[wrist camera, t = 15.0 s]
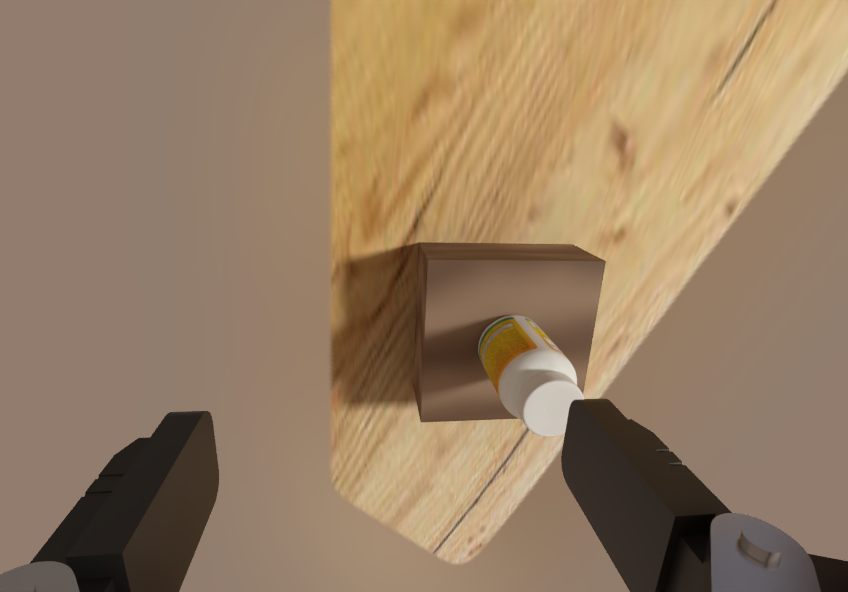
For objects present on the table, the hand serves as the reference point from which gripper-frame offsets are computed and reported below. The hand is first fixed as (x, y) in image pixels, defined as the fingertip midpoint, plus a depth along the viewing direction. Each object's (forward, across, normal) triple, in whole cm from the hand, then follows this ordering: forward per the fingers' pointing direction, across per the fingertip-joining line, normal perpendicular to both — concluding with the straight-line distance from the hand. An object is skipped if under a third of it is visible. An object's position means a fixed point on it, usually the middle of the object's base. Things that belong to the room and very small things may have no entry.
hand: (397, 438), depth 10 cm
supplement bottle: (+24, -11, +9) cm, 28 cm away
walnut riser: (+30, -11, +9) cm, 33 cm away
